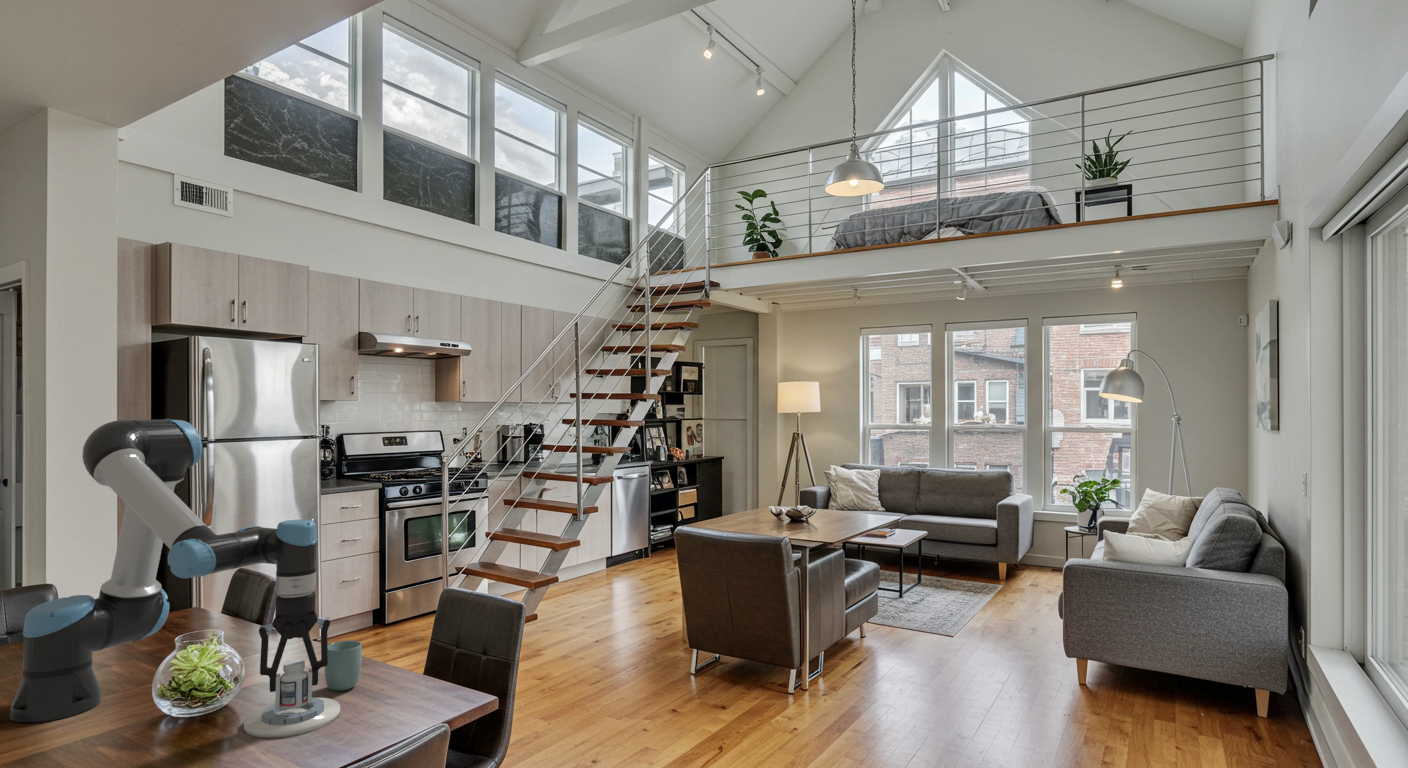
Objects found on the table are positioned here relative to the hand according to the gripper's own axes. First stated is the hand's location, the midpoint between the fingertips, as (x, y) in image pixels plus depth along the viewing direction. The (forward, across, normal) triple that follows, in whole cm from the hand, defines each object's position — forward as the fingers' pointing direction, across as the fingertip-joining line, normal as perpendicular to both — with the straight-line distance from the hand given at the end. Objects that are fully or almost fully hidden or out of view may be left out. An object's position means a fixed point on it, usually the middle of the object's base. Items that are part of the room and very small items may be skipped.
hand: (293, 703), depth 159 cm
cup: (+4, +10, +15) cm, 18 cm away
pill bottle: (0, 0, 0) cm, 0 cm away
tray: (+3, 0, 0) cm, 3 cm away
